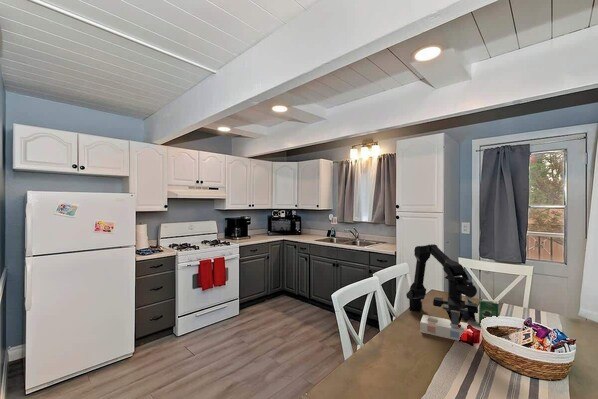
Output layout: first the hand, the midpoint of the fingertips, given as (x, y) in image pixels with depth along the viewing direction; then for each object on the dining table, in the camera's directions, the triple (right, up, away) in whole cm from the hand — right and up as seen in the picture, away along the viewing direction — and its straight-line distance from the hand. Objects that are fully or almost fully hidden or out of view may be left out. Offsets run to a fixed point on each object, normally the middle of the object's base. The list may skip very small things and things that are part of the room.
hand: (455, 322), depth 135 cm
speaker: (+16, -6, +18) cm, 25 cm away
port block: (-4, -6, +3) cm, 8 cm away
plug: (0, -3, 0) cm, 2 cm away
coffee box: (+22, -6, +8) cm, 24 cm away
